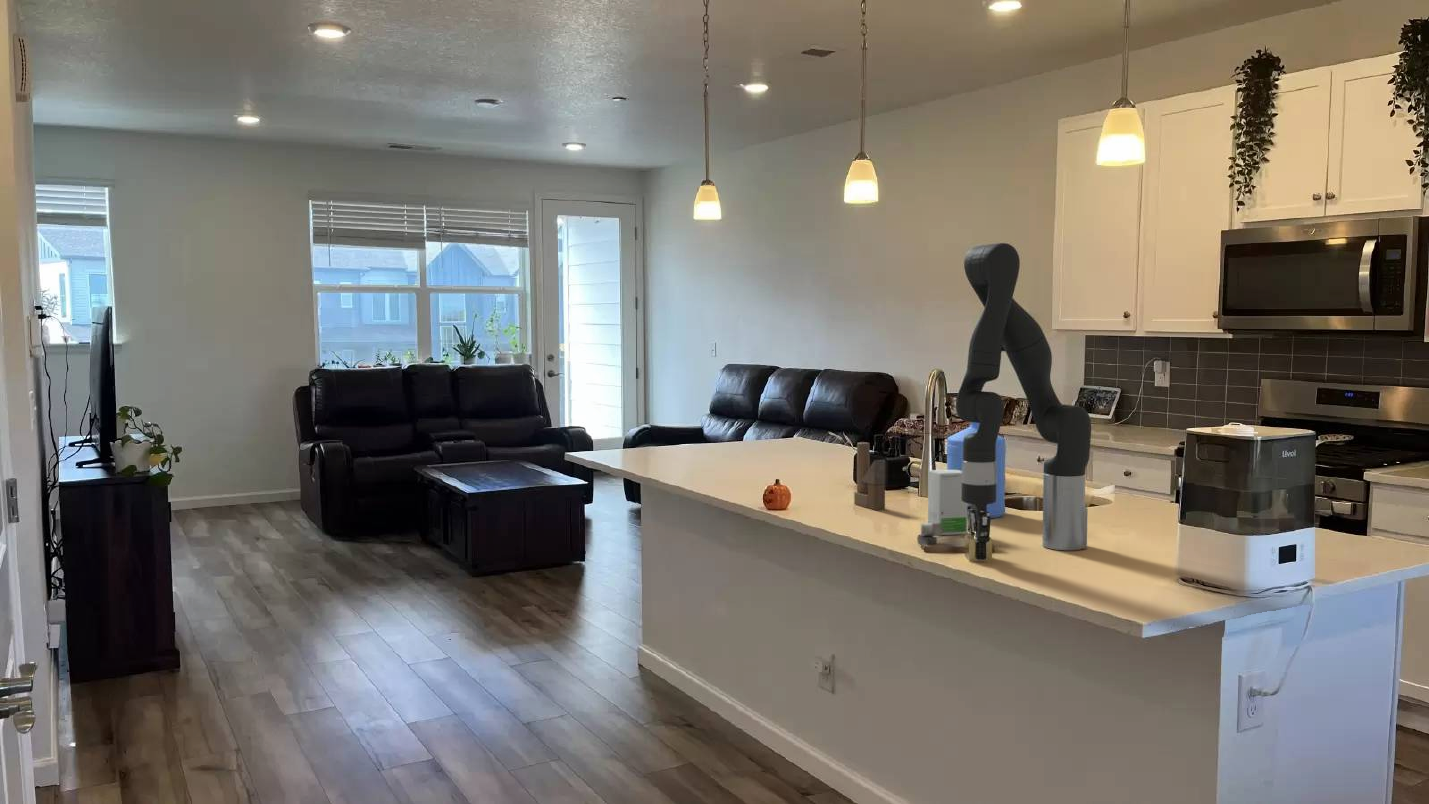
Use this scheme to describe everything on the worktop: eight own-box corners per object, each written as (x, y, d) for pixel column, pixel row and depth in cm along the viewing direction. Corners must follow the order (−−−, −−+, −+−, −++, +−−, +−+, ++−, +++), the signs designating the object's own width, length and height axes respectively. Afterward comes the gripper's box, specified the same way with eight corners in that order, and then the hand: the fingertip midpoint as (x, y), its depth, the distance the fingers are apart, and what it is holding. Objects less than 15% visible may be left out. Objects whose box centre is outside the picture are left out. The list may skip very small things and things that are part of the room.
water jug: (1008, 520, 273) (1009, 414, 270) (947, 519, 275) (948, 414, 273) (1001, 509, 288) (1002, 409, 286) (944, 508, 291) (944, 409, 288)
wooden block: (874, 510, 288) (874, 446, 287) (853, 504, 298) (854, 442, 296) (885, 509, 290) (885, 445, 288) (864, 503, 299) (864, 441, 298)
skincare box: (938, 536, 254) (939, 473, 253) (926, 531, 260) (926, 469, 259) (969, 534, 256) (969, 471, 255) (956, 528, 262) (956, 468, 261)
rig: (984, 541, 247) (984, 518, 247) (994, 552, 236) (994, 527, 236) (915, 541, 248) (915, 518, 248) (922, 552, 237) (922, 527, 237)
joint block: (987, 556, 233) (987, 532, 232) (991, 561, 228) (992, 537, 227) (964, 556, 233) (965, 532, 232) (969, 561, 228) (969, 537, 227)
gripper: (1003, 486, 221) (1002, 564, 223) (989, 475, 236) (988, 549, 237) (968, 486, 222) (967, 564, 223) (956, 475, 236) (955, 549, 237)
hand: (978, 555), depth 230 cm, fingers closed on joint block, 5 cm apart
